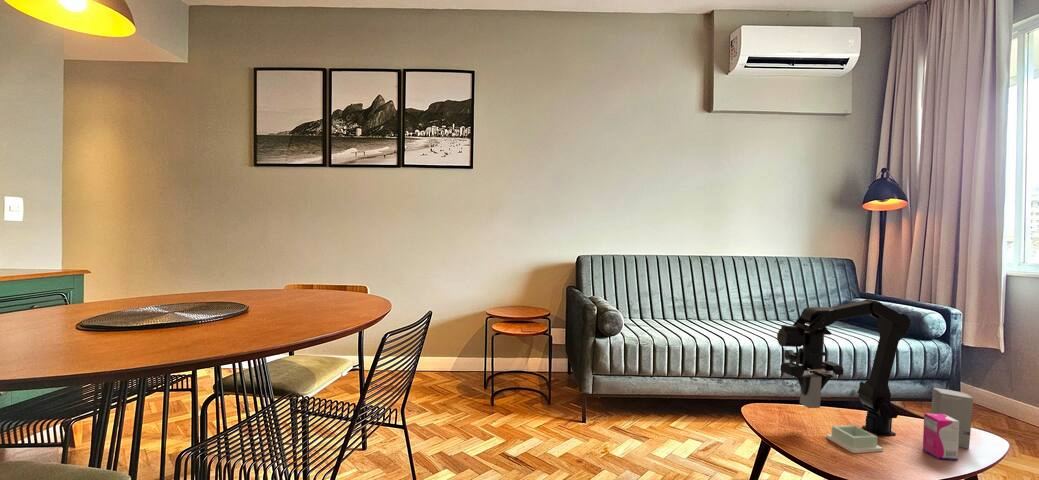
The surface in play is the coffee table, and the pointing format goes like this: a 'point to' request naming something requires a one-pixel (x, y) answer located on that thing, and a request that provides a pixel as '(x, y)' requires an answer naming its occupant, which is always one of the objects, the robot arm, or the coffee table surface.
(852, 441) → the socket block
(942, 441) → the supplement box
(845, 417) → the coffee table surface
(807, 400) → the peg
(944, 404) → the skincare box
